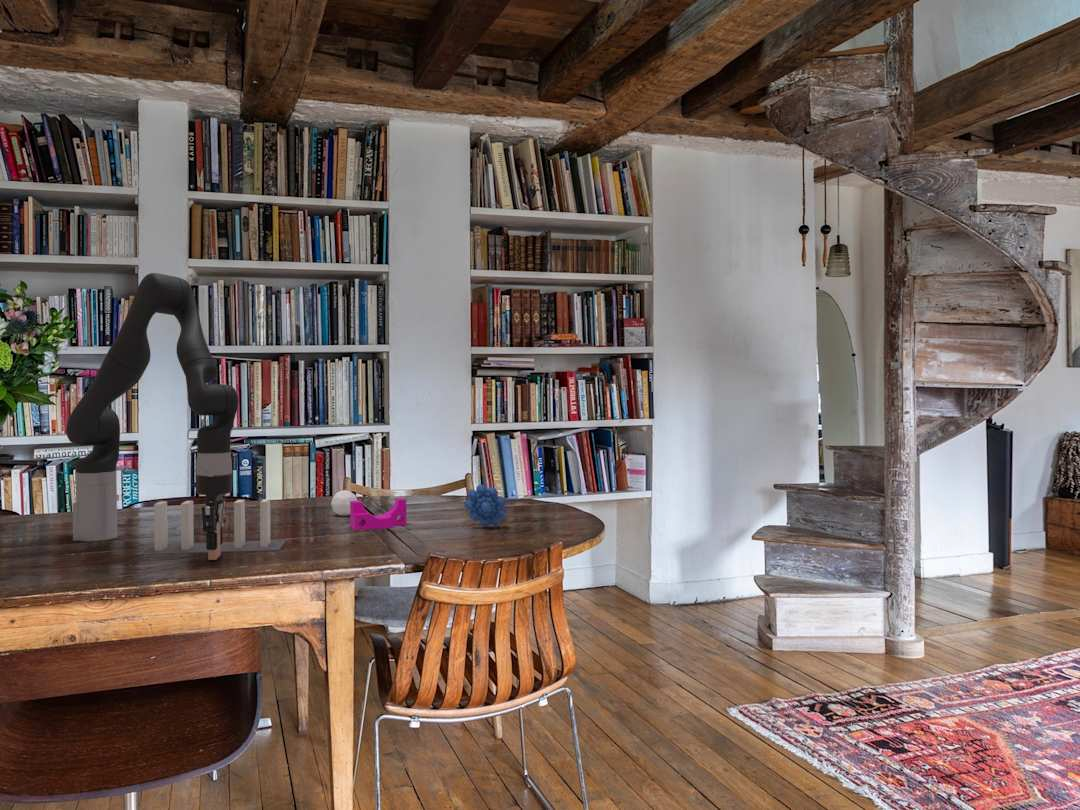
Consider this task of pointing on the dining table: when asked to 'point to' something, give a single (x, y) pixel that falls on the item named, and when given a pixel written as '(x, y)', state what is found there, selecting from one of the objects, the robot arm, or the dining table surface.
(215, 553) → the domino
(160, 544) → the domino
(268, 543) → the domino
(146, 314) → the robot arm
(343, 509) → the geometric ball
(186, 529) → the domino
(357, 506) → the toy block
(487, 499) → the blue flower rosette
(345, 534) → the dining table surface
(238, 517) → the domino
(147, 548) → the domino mat
